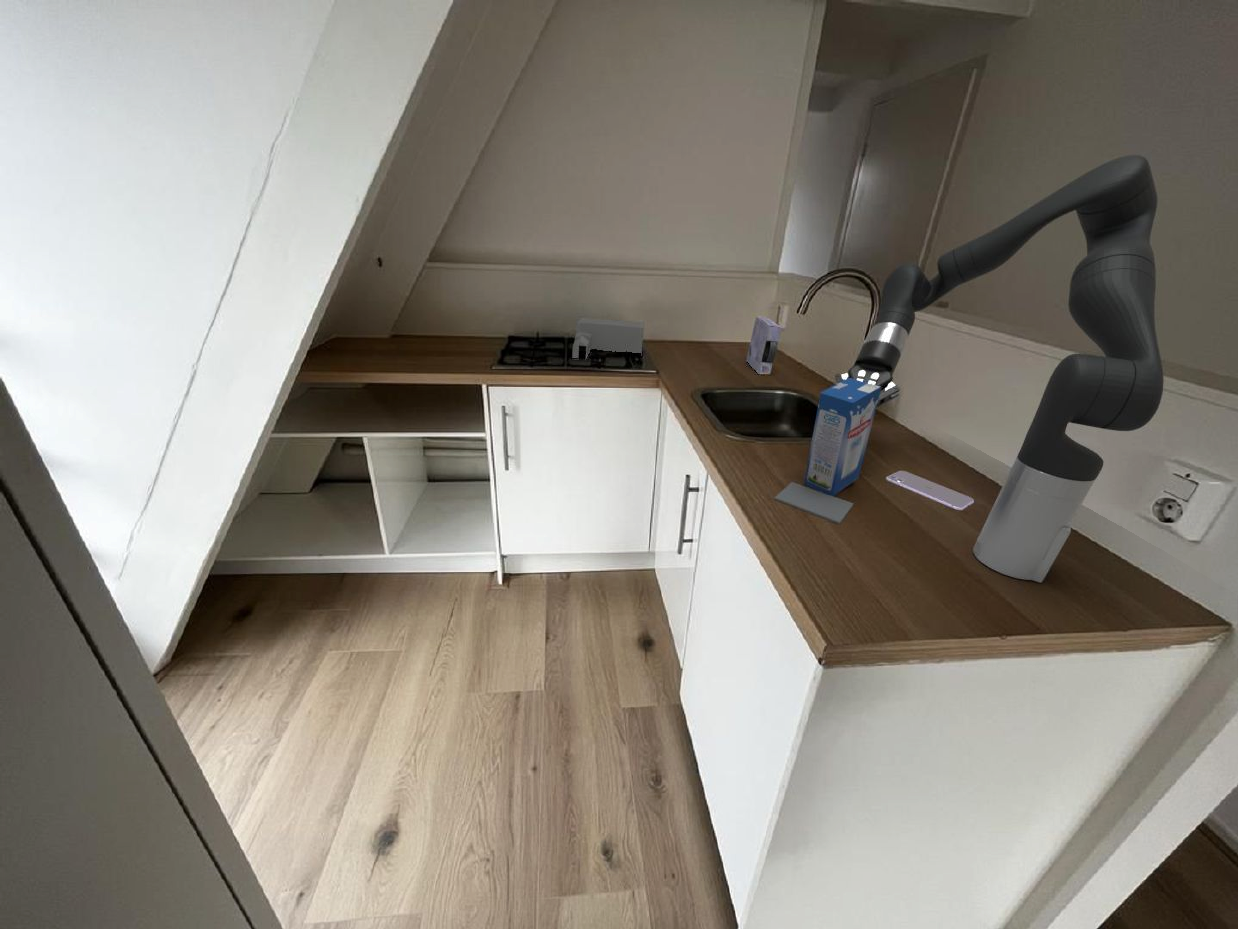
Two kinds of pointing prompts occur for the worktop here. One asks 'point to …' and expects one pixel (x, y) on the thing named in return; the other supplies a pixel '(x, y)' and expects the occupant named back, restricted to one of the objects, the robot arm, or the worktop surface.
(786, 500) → the mat
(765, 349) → the cake pan box
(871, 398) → the milk carton
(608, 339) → the grey toy box truck
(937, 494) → the mobile phone
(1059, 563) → the worktop surface
